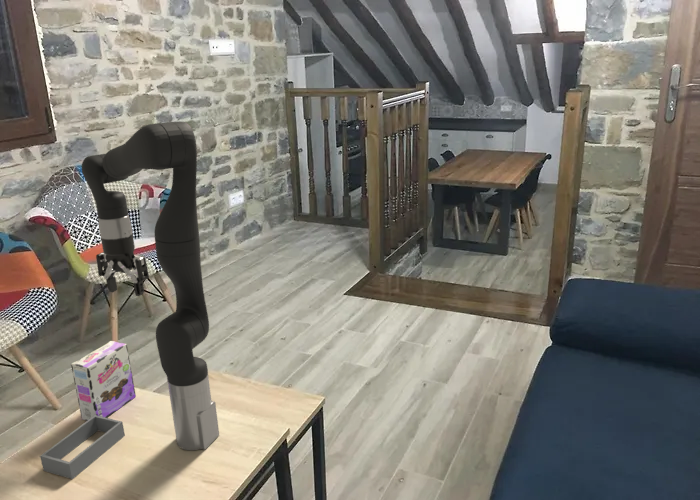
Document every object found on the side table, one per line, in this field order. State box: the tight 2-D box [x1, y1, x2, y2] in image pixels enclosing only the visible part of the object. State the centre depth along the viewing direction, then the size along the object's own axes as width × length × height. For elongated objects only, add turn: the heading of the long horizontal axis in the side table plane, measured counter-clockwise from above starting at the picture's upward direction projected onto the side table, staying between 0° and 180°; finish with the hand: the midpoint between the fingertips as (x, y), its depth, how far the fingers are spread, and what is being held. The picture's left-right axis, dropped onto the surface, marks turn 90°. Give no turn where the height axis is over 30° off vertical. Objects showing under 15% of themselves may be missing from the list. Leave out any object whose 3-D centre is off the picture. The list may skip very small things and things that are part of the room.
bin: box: [39, 415, 125, 480], centre depth 140 cm, size 9×17×4 cm, turn 158°
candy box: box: [70, 340, 137, 422], centre depth 155 cm, size 14×6×16 cm, turn 156°
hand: (126, 293), depth 154 cm, fingers open, 8 cm apart
